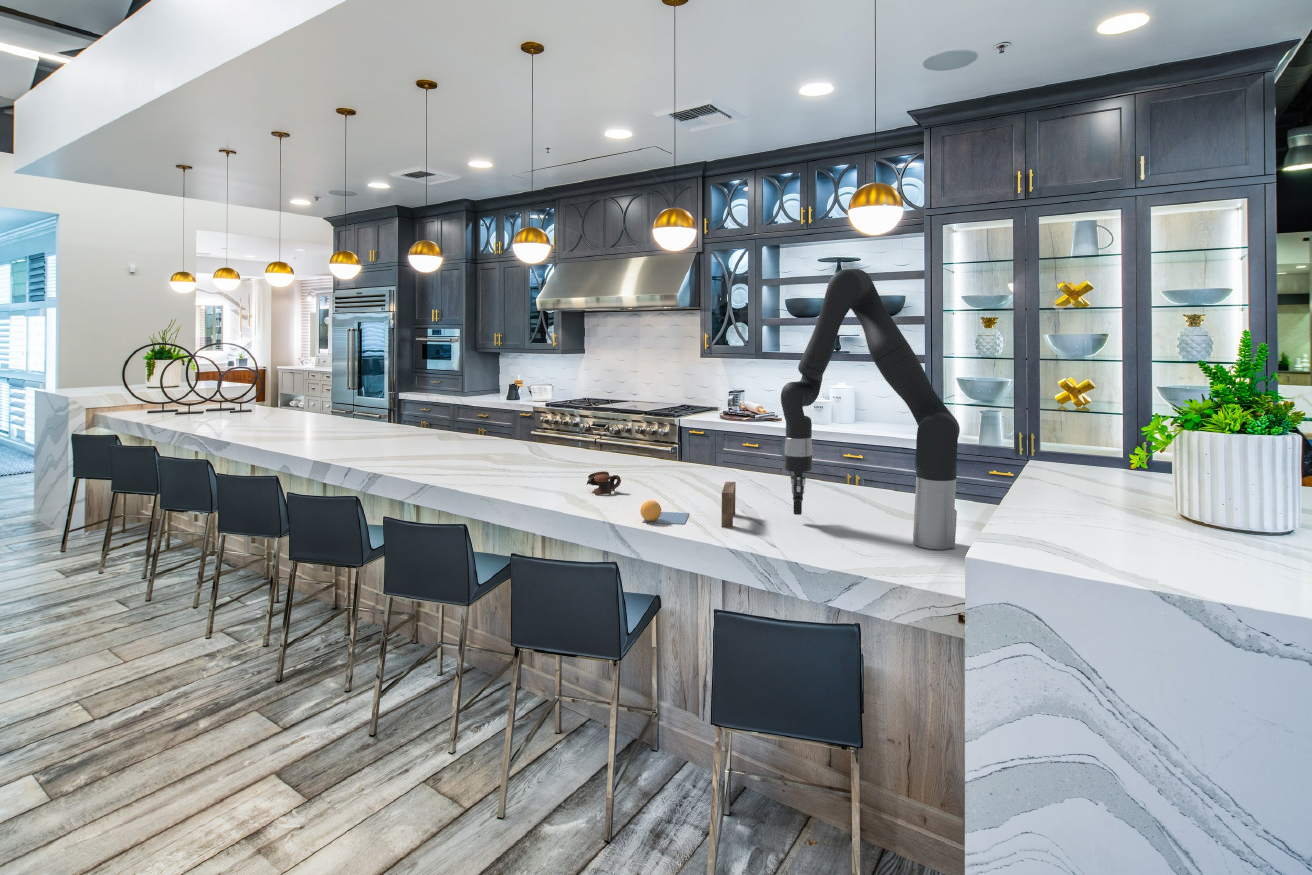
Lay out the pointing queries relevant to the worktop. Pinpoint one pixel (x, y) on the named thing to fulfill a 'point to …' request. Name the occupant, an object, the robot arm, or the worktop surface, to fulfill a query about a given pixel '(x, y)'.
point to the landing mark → (670, 518)
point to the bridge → (728, 504)
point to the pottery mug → (603, 482)
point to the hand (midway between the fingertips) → (797, 513)
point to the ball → (650, 510)
